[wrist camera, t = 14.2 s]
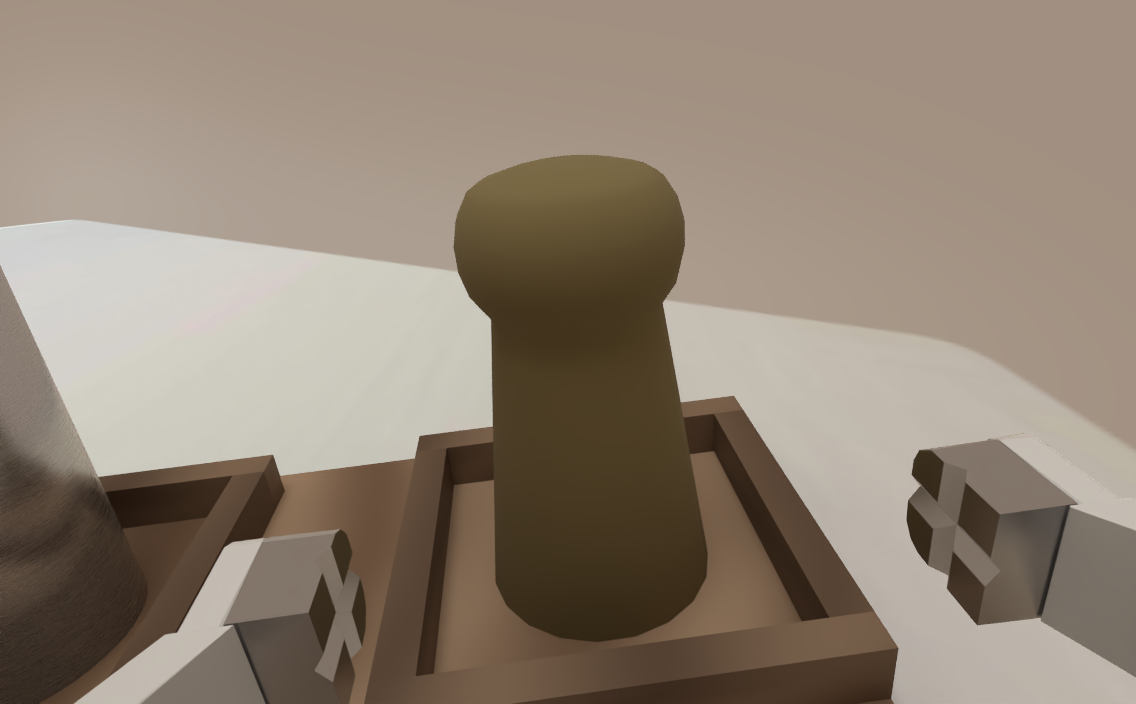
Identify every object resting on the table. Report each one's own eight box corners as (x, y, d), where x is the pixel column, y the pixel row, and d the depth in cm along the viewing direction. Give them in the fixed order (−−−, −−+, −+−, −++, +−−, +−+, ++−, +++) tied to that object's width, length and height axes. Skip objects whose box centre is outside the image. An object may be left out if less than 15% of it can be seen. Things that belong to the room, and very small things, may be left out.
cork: (583, 470, 23) (548, 137, 19) (747, 535, 20) (754, 140, 15) (450, 577, 19) (363, 184, 15) (625, 684, 16) (584, 205, 11)
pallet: (-453, 986, 13) (-563, 907, 12) (-3, 540, 25) (-38, 479, 24) (910, 780, 14) (925, 689, 13) (725, 445, 26) (725, 383, 25)
